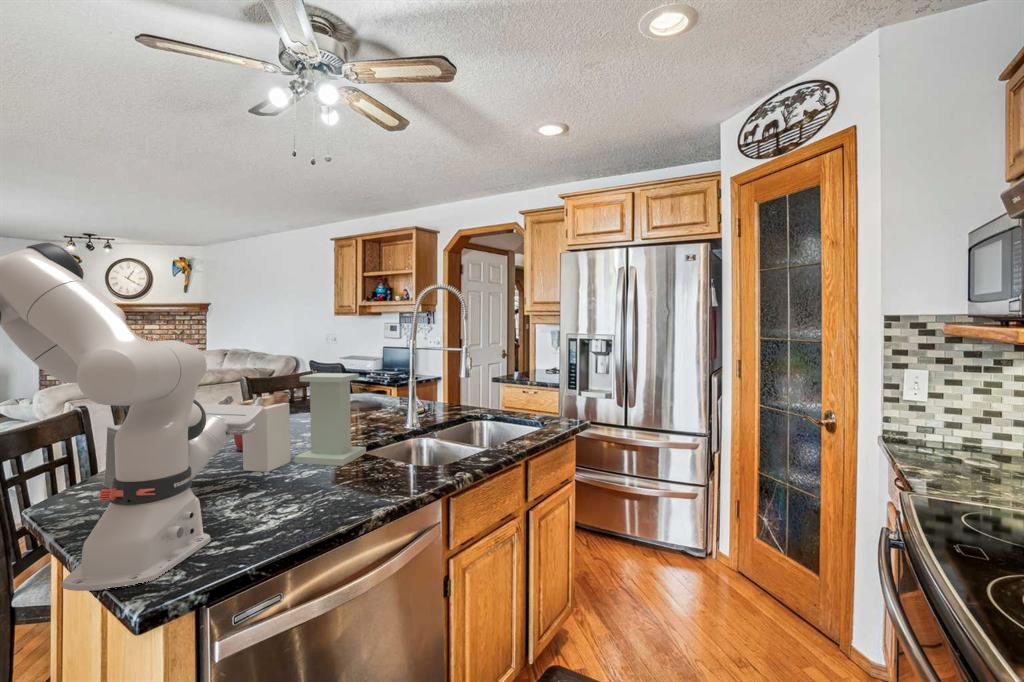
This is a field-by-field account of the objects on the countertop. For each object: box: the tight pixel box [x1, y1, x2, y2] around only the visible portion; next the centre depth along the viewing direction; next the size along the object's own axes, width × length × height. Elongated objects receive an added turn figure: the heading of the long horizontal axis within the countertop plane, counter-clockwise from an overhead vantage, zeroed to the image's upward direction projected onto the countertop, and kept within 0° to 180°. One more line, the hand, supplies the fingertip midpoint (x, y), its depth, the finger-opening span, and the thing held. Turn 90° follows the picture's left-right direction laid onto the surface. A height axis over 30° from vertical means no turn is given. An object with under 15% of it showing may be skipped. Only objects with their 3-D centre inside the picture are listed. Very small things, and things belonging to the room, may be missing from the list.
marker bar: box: [229, 392, 290, 407], centre depth 139 cm, size 20×4×2 cm, turn 169°
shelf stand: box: [293, 372, 367, 467], centre depth 150 cm, size 14×16×26 cm
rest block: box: [242, 402, 292, 473], centre depth 142 cm, size 10×8×18 cm
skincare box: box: [104, 424, 122, 489], centre depth 125 cm, size 8×7×16 cm
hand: (245, 398), depth 133 cm, fingers open, 8 cm apart
